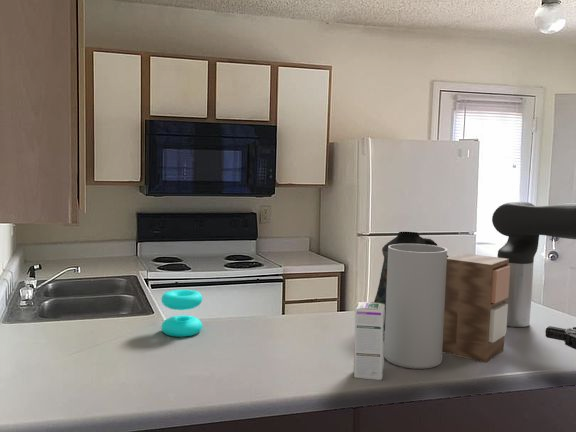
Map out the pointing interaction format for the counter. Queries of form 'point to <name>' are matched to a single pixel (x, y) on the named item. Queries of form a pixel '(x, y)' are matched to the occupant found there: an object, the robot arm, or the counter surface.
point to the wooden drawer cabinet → (470, 307)
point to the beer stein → (400, 239)
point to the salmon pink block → (500, 283)
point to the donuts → (182, 323)
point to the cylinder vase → (415, 305)
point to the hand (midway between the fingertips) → (546, 331)
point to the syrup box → (369, 340)
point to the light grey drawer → (498, 322)
